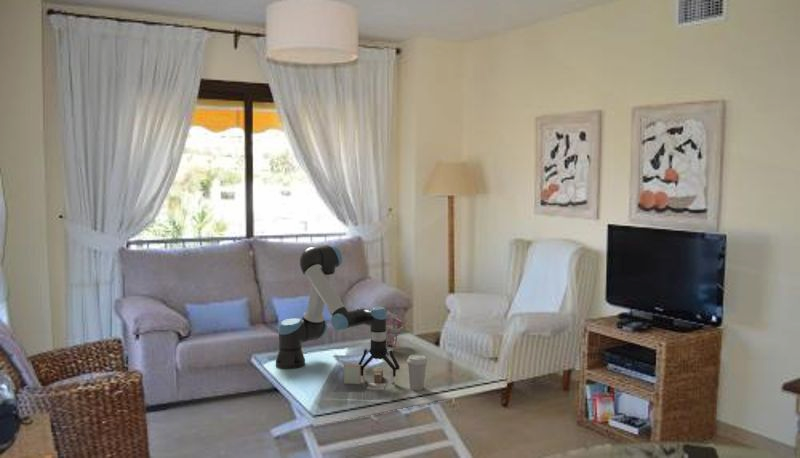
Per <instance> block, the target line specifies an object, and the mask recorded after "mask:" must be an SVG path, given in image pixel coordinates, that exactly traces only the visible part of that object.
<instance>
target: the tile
mask: <svg viewBox="0 0 800 458" xmlns="http://www.w3.org/2000/svg"><path fill="white" fill-rule="evenodd" d="M361 365H362V364H361ZM361 365H358V364H357V363H355V364H351V363H350V364H348V363H343V382H344V384H361V383H362V376H361Z"/></svg>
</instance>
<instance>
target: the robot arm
mask: <svg viewBox="0 0 800 458" xmlns="http://www.w3.org/2000/svg"><path fill="white" fill-rule="evenodd" d="M342 262H343V256H342V253H341V250H340V249H339V247H337V246H336V245H334V244H333V245H332V244H326V245H321V246H320V245H319V246H312V247H308V248H306V249H304V251H302V253H301V256H300V258H299V265H300V266H299V267H300V270H301V272H302V274H303V276H304V277H305V278H308V280H309V282H311V288H310V294H309V298H308V302H307V303H308V304H307V308H306V311H304V312H303V314H302V318H299V317H298V318H297V317H293V318H286V319H284V320H282V321H281V322H280V323H279V324H278V329H277V330H278V352H277V356H276V359H275V366H276V368H279V369H286V370H290V369H291V370H292V369H293V370H294V369H298V368H301V367H303V366H305V365H306V359H305V356H304V353H303V349H302V344H303V343H305V342H310V341H317V340H319V339H322V338H323V337H324V336H325V335H326V333H327V331H328V325H327V320H326V319H325V318H326V317H325V315H324V309H325V306H326V309H327V310H328V312H329V313H330V315H331V319H330V323H331V326H332V327H333V329H335V330H336V331H339V330H340V331H341V330H346V329H349V328H354V327H358V326H362V325H363V326H364V325H366V326H368V327H369V326H370V349H368V348H366V347H365V348H364V350H363V355H362V357H361V358H360V360H359V362H358V364H357V365H361V377H362V378H363V379H362V383H366V380H367V379H366V377H367V375H366V371H367V370H366V367H367V365H369V363H370V362H371V361H372V360H373V359H374V360H382V359H383V361H385V363H387V365H388V367H390V368H391V371H390V373H391V376H390V377H391V379H390V380H391V381H390V382H391V384H394V378H396V377H397V373H396V372H397V370H400V367H401V366H400V365H399V363H398V360H397V358H396V356H395V355H394V351H393V350H392V349H393V348H392V349H391V350H388V349H386V347H387V343H386V340H385V339H386V331H387V330H386V318H387V316H386V312H387V309H386V308H385V307H383V306H373V307H371V308H370V309H368V308H365V307H359V306H358V307H357V306H356V307H355V308H354V309H352V310H350V311H348V309H347V307H346V306H345V305H344V303H343V302H342V300H341V298H340V297H339V295H338V293H337V292H336V291H335V289H334V287H333V286H332V284H331V281H330V280H331V276H332V275H334V274H335V271H336V268H338V267H340V266H341V264H342ZM368 354H370V357H369V358H368V359H367V360H365V362H364V363H363V361H364V359H365V358H366V356H367V355H368ZM387 354H388V355H390V358H391V359H392V361H391V359H389V358H388V356H387ZM362 363H363V364H362Z"/></svg>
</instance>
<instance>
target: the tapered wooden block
mask: <svg viewBox="0 0 800 458" xmlns="http://www.w3.org/2000/svg"><path fill="white" fill-rule="evenodd" d="M373 377H374V381H373V382H369V383H367V384H368V385H367V386H366V390H367V391H368V390H372V391H373V390H375V391H385V387H386V385H387V383H382V381H383V378H384V369H383V368H379V367H377V368H376V369H375V373H374V375H373Z"/></svg>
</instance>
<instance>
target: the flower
mask: <svg viewBox="0 0 800 458" xmlns="http://www.w3.org/2000/svg"><path fill="white" fill-rule="evenodd" d="M386 316H387V318H386V339H385V340H386V349H387V350H391V349H392V350H393V352H394V353H397V352H396V348H397V343H398V337H399V335H398V332H402V331H404V332H407V333H409V331H408V330H407V328H405V326H403V325H404V321H402V319H399V318H398V315H397V314H395V313H393V312H392V311H391V312H390V309H388V310H386ZM391 332H394V333H391ZM394 342H395V343H394ZM390 345H391V346H392V348H391V347H389V346H390Z"/></svg>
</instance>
